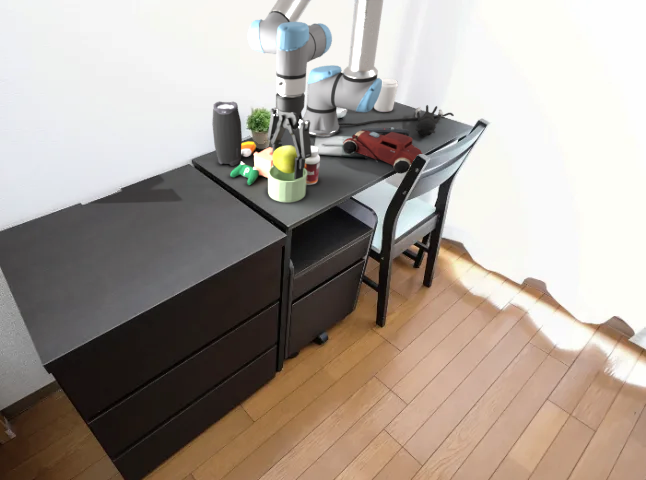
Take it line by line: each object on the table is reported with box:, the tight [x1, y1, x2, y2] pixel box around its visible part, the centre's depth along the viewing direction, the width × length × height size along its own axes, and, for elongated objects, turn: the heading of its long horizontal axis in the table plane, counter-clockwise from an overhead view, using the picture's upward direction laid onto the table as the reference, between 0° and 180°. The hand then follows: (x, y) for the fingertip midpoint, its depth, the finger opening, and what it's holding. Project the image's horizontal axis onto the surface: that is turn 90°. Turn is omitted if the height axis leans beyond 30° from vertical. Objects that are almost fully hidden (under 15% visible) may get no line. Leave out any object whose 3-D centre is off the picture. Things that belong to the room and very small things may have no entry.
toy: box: [414, 104, 444, 137], centre depth 152 cm, size 11×6×30 cm
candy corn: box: [241, 140, 257, 158], centre depth 137 cm, size 6×3×8 cm
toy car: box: [342, 129, 423, 175], centre depth 129 cm, size 15×28×10 cm, turn 47°
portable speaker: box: [211, 101, 243, 167], centre depth 127 cm, size 9×9×20 cm
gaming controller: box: [229, 161, 259, 186], centre depth 124 cm, size 9×4×6 cm
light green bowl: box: [267, 166, 307, 203], centre depth 115 cm, size 12×12×7 cm
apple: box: [272, 144, 297, 173], centre depth 110 cm, size 8×9×8 cm
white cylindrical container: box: [373, 78, 399, 113], centre depth 164 cm, size 8×8×12 cm
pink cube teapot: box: [253, 147, 273, 179], centre depth 124 cm, size 8×12×8 cm, turn 51°
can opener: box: [360, 126, 410, 137], centre depth 142 cm, size 18×7×6 cm, turn 71°
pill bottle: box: [304, 145, 321, 186], centre depth 119 cm, size 6×6×11 cm
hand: (287, 171), depth 113 cm, fingers closed on apple, 9 cm apart
